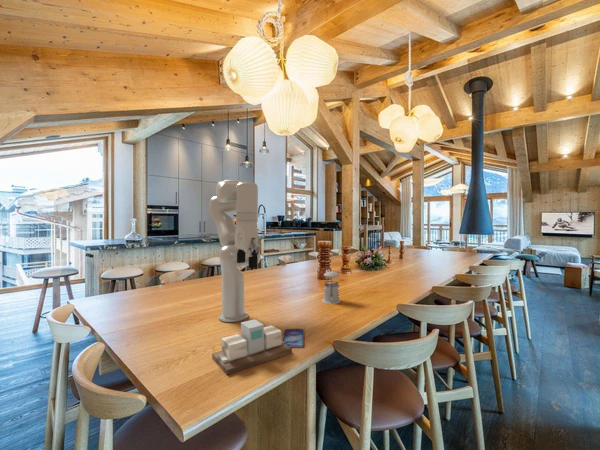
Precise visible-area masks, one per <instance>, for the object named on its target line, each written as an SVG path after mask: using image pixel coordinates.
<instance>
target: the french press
mask: <svg viewBox="0 0 600 450" xmlns="http://www.w3.org/2000/svg"><path fill="white" fill-rule="evenodd" d="M329 256H330V257H331V259H330V261H331V264H330V265H331V266H330V267H331V270H330V271H327V272H324V274H323V276H324V277H327V278H330V280H326V281H324V284H323V295H324V296H323V299H322V300H321V302H322V303H325V304H330V305H333V304H334V305H336V304H340V303H341V299H340V289H339V288H340V285H339V281H337V280H334V279H332V278H336V277H337V278H338V277H339V276H340V274H339V273H338V272H335V271H333V264H332V263H333V259H332V258H333V256H334V252H330V253H329Z"/></svg>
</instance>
